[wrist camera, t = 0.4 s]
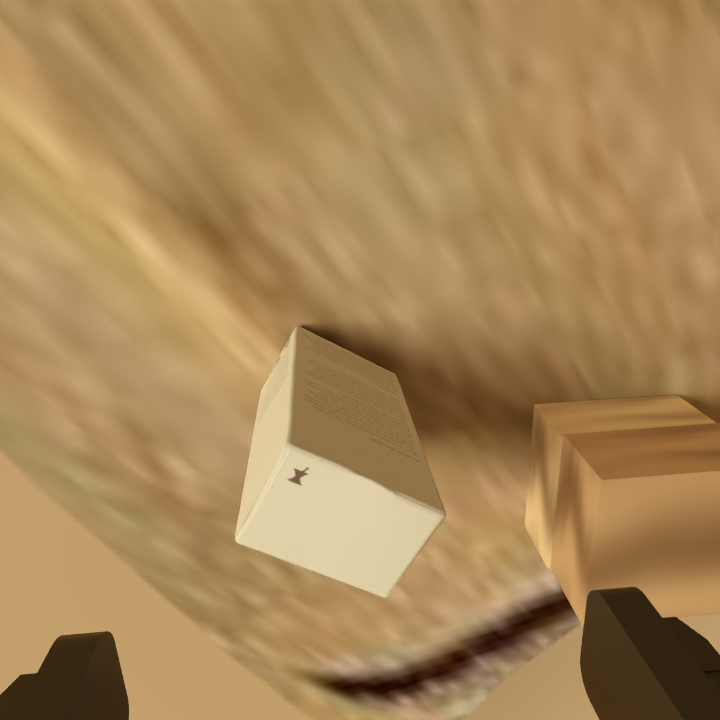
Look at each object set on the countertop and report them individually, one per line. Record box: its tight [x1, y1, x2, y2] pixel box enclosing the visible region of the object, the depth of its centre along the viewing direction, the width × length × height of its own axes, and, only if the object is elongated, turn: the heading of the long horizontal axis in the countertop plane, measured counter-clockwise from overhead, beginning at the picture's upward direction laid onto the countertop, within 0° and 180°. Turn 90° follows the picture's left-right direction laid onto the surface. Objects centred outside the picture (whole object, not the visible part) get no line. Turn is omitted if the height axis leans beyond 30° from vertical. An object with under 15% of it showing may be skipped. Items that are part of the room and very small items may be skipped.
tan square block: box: [550, 423, 720, 626], centre depth 28 cm, size 8×8×4 cm
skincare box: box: [235, 326, 446, 598], centre depth 24 cm, size 6×4×12 cm
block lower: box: [525, 394, 716, 569], centre depth 31 cm, size 8×8×4 cm
